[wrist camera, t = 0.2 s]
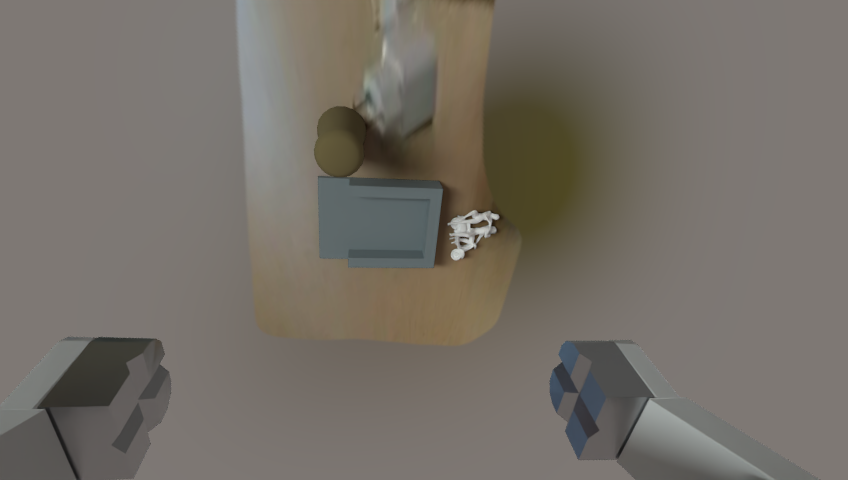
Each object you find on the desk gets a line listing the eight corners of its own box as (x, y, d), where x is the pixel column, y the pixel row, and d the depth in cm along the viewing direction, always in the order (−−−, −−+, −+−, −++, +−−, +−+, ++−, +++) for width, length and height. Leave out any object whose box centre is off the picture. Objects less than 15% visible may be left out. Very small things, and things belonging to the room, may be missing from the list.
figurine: (497, 201, 62) (495, 251, 65) (444, 206, 61) (445, 256, 64) (504, 209, 59) (501, 260, 62) (449, 214, 58) (449, 266, 61)
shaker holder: (318, 176, 56) (316, 184, 53) (439, 180, 58) (443, 189, 56) (320, 256, 61) (318, 267, 59) (430, 257, 64) (433, 267, 61)
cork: (374, 141, 55) (379, 169, 45) (333, 162, 55) (328, 194, 46) (351, 97, 52) (350, 117, 42) (307, 120, 52) (296, 145, 43)
